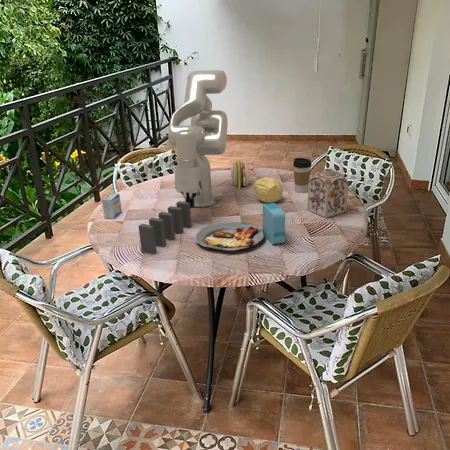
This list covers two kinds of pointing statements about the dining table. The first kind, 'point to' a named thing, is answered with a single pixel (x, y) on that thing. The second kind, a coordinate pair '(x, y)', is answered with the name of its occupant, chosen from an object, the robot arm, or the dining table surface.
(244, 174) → the hamburger
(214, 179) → the dining table surface
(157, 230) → the domino
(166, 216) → the domino
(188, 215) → the domino
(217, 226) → the food plate
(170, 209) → the domino
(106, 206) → the medicine box
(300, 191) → the coffee cup
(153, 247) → the domino
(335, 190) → the decorative jar
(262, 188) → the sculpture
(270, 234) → the light blue block
